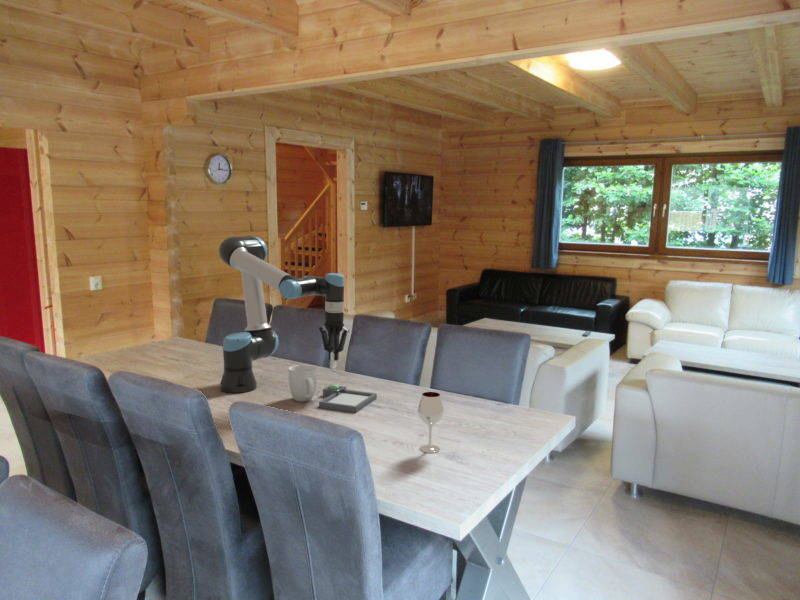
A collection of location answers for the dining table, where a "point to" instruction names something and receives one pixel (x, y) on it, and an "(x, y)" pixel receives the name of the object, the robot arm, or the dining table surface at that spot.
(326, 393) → the grey square frame
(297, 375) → the mug
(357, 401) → the tray
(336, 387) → the button
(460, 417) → the dining table surface
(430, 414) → the wineglass
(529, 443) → the dining table surface
